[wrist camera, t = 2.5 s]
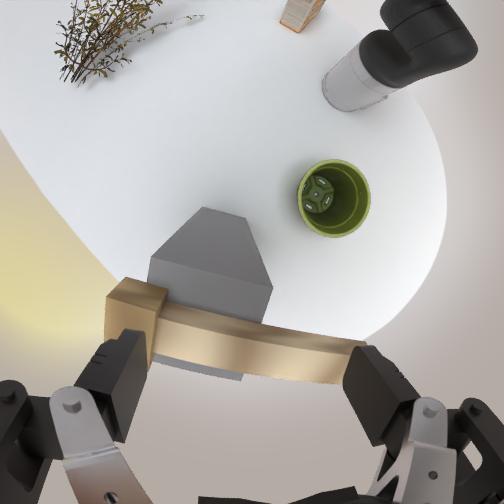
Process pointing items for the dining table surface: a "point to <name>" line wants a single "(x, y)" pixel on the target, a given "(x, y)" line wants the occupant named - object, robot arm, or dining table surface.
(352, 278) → the dining table surface
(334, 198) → the plant pot
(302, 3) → the supplement box
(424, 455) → the robot arm
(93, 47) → the dried plant
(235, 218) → the plinth
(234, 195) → the dining table surface
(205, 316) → the hanging bar
